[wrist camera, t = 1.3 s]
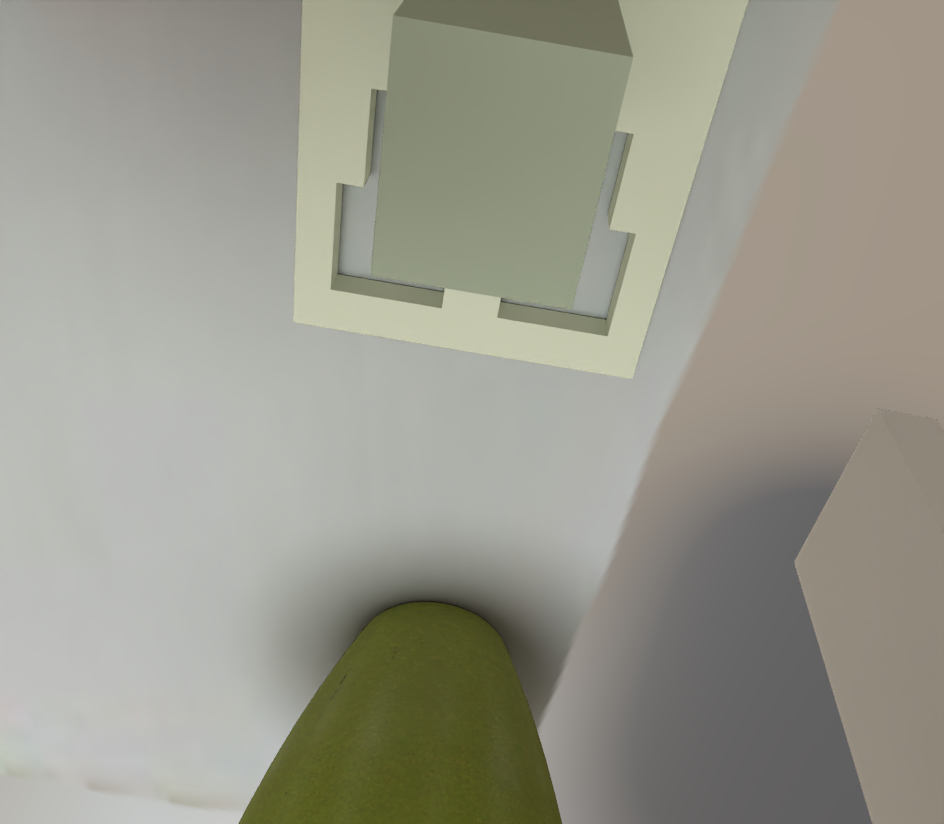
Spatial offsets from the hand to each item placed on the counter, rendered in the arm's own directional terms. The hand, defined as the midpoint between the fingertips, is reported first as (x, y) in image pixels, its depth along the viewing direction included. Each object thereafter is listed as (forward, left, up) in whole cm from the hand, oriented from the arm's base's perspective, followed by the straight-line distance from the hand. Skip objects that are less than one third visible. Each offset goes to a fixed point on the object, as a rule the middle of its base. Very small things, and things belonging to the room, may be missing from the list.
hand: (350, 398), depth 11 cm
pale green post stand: (+4, +1, -19) cm, 20 cm away
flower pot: (+29, +2, -20) cm, 35 cm away
